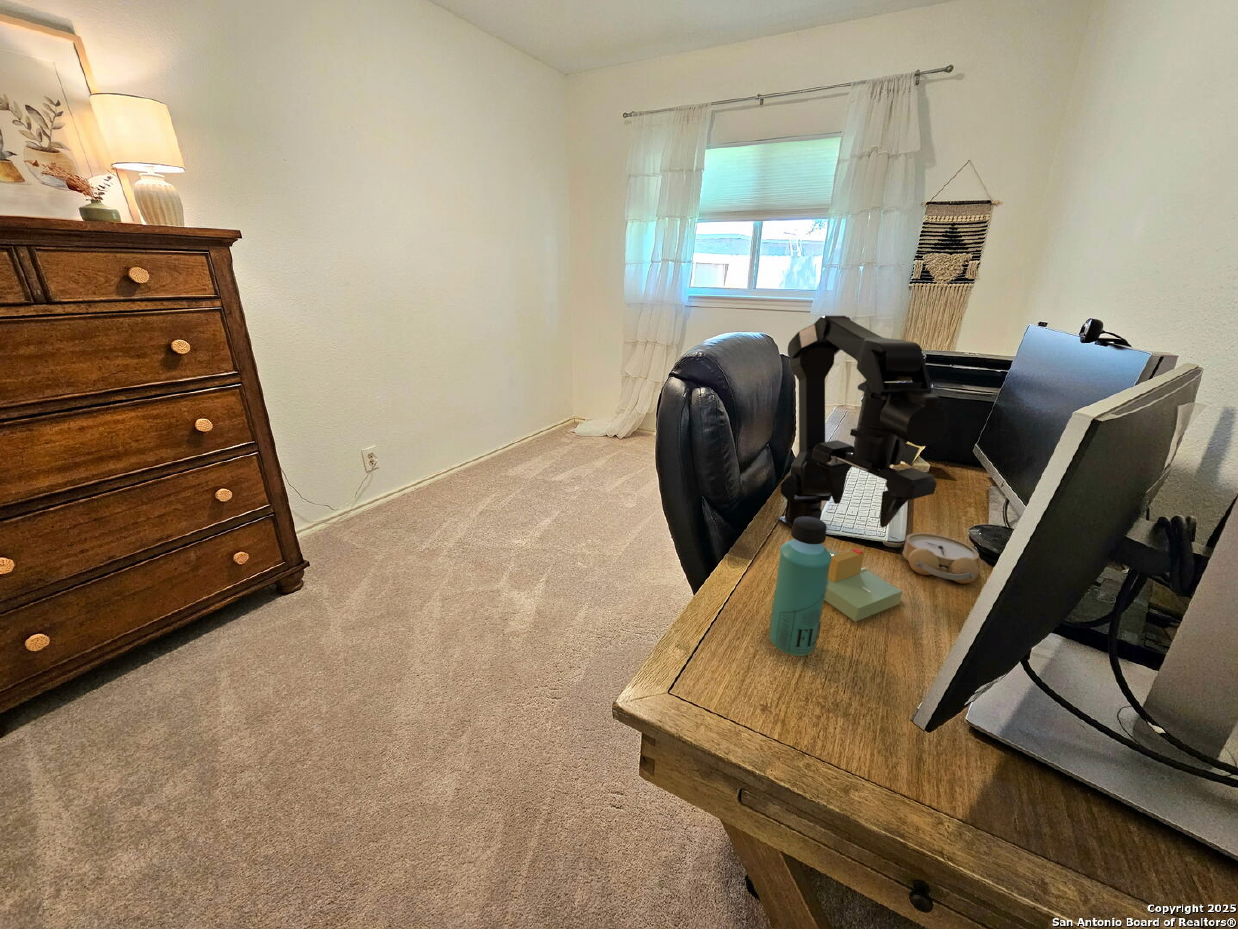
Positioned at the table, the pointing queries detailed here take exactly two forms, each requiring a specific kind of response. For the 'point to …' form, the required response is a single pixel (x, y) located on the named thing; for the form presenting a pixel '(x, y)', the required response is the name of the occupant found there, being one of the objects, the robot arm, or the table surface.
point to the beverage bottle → (800, 588)
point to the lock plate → (861, 594)
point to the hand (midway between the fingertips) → (859, 514)
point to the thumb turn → (845, 565)
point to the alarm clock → (941, 557)
